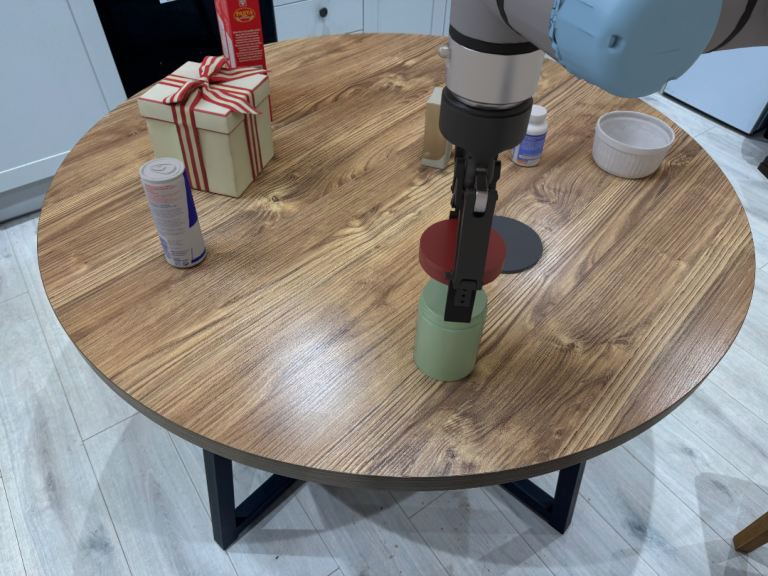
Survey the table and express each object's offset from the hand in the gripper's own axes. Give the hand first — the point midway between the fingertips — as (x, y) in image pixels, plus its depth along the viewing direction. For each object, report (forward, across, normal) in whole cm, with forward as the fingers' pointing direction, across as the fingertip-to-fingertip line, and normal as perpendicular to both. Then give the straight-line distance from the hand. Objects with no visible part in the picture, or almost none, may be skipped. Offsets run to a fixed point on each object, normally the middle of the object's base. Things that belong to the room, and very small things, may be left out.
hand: (456, 287), depth 62 cm
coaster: (+12, -22, +8) cm, 27 cm away
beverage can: (+12, -15, -37) cm, 42 cm away
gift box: (+12, -38, -37) cm, 55 cm away
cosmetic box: (+12, -45, -2) cm, 47 cm away
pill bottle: (+12, -47, +15) cm, 51 cm away
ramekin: (+12, -48, +33) cm, 59 cm away
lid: (-6, 0, 0) cm, 6 cm away
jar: (+12, 0, 0) cm, 12 cm away
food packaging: (+12, -61, -39) cm, 73 cm away
